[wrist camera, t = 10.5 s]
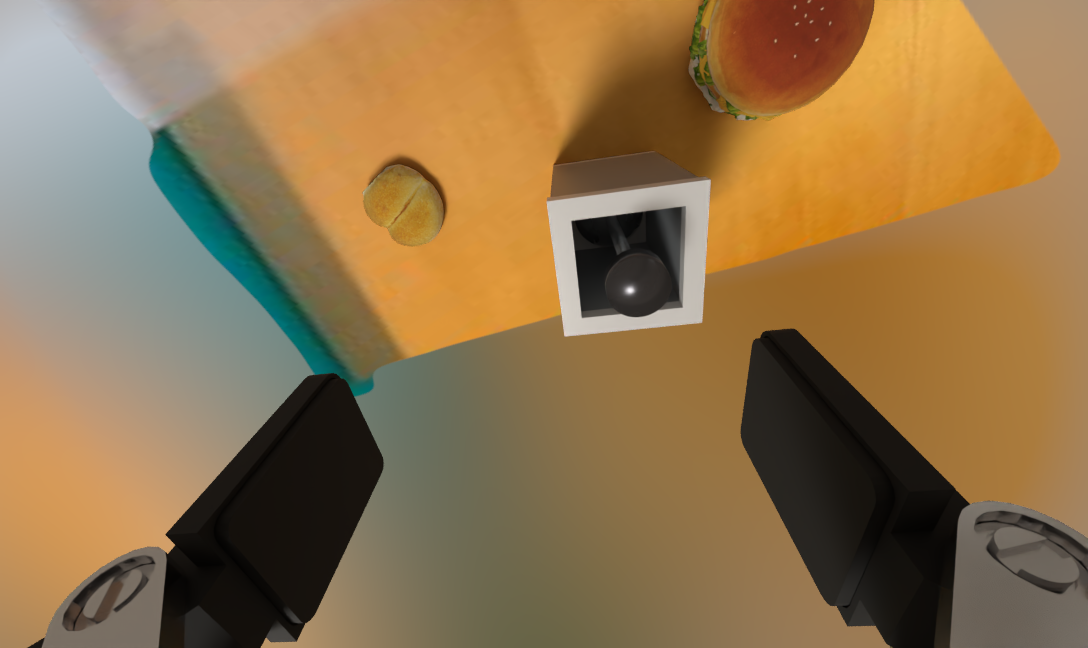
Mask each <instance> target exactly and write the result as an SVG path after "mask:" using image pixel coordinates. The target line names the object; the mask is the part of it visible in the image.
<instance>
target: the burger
mask: <svg viewBox="0 0 1088 648" xmlns="http://www.w3.org/2000/svg"><path fill="white" fill-rule="evenodd" d="M873 11H874V0H704V4H703V5H702V6H699V12H698V15H697V16H696V17H697V19H696V21H695V26H694V31H693V36H692V44H691V46H690V47H689V50H690V52H691V54H690V57H691V60H690V64H689V69H688V71H689V74H690V76H691V77H692V79H693V80H694V82H695V84H696V86H697V87H698V88H699V89H700V90H701V91H702V92H703V96H704V97H705V98H706V99H707V101H708V102H709V105H710V107H711V110H715V111H718V112H720V113H721V112H726V113H728V114H732V115H735V118H737V120H755V119H764V120H767V121H769V120H771V119H774V117H778V116H780V115H781V114H784V113H787V112H790V111H793V110H796V109H799V108H801V107H804V106H806V105H807V104H809V103H811V102H812V101H814V100H816V99H817V98H819V97H820V96H821V95H822V94H823V93H824V92H826V91H827V90H828V89H829V88H830V87H832V86H833V85H834V84H835V83H836V82H837V80H838V79H839V78H840V77H841V76H842V75H843V73H844V72H845V71H846V70H847V69H848V68H849V67H850V65H851V63H852V62H853V60H854V58H855V57H856V55H857V53H858V52H859V50H860V48H861V47H862V45H863V42H864V40H865V37H866V34H867V32H868V29H869V26H870V22H871V18H872V15H873Z"/></svg>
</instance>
